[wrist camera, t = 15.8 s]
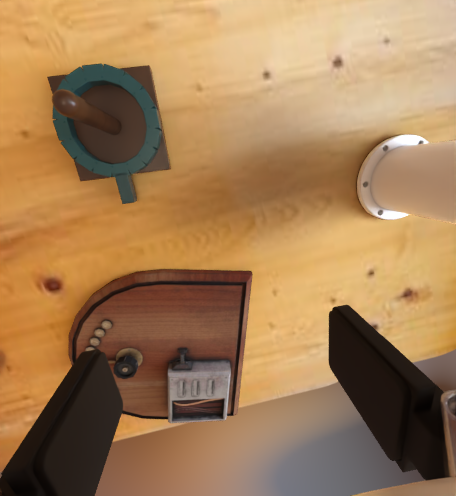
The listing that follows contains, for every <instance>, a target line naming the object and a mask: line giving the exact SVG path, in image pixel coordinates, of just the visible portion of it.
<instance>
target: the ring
mask: <svg viewBox="0 0 456 496" xmlns="http://www.w3.org/2000/svg"><path fill="white" fill-rule="evenodd" d="M82 67H83V69H82V68H81V67H79V68H77V69H76V70H74V71H73V72H71V73H70V74H68V75H67V76H65V79H66V80H67V81H66V80H64V79H62V81H61V83H60V85H59V87H58V89H57V90H61V89H64V90H68V91H70V92H72V93H74V94H75V95H77V96H79V97H81V95H82V94H83V93H84V92H86V91H87V90H89V89H90V88H92V87H93V86H100V85H112V86H115V87H118V88H121V89H124V90H126V91H127V92H128V93H129V94H131V95H132V96H133V97H134V98H135V99H136V100H137V102H138V104H139V105H140V107H141V109H142V110H143V113H144V117H145V122H146V126H147V129H146V136H145V142H144V144H143V146H142V147H141V149H140V151H139V152H138V154H137V155H136V156H134V157H133V158H131V159H130V160H128V161H126V162H124V163H116V164H111V163H108V162H104V161H100V160H99V159H98V158H96V157H95V156H93V155H92V154H90V153H89V152H88V151H87V150H86V149H85V147H84V146H83V145H82V143H81V142H80V140H79V139H78V136H77V133H76V130H75V126H74V123H73V121H74V119H71V118H68V117H66V116H64V115H62V114H60V113H59V112H58V111H57V110H56V109H55V107H54V105H53V119H56V120H53V123H54V126H55V129H56V132H57V135H58V138H59V140H60V141H62V142H61V144H62V145H63V146H64V148H65V149H66V150H67V152H68V153H69V154H70V156H71V157H72V158H73V159H75V161H76V162H77V163H79V164H80V165H82V166H83V167H85V168H86V169H88V170H89V171H91V172H93V173H96V174H100V175H104V176H108V177H115V178H116V182H117V185H118V189H119V193H120V196H121V200H122V204H126V203H133V202H136V201H137V198H136V194H135V190H134V186H133V182H132V178H131V175H133V174H136V173H137V172H139V171H141V170H142V169H144V168H145V167H147V166H148V165H147V164H150V163H151V161H152V160H153V158H154V157H155V155H156V154H157V152H158V150H157V149H159V146H160V140H161V135H162V131H161V130H162V128H161V123H160V118H159V112H158V110H157V107H156V106H155V104H154V102H153V101H152V99H151V97H150V96H149V94H148V92H147V91H146V89H145V88H144V87H143V86H142V85H141V84H140V83H139V82H138V81H137V80H135V79H134V78H133V77H132V76H131V75H129V74H128V73H127V72H126V73H125V71H124V70H121V69H118V68H115V67H112V66H109V65H106V64H104V66H103V65H102V64H93V65H84V66H82ZM155 148H157V149H155Z"/></svg>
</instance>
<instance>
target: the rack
mask: <svg viewBox="0 0 456 496" xmlns="http://www.w3.org/2000/svg"><path fill="white" fill-rule="evenodd" d="M121 70H124V71H125V73H126V72H127V73H128V74H129V75H131V76H132V77H133V78H134V79H135V80H137V81H138V82H139V83H140V84H141V85H142V86H143V87H144V88H145V89H146V91H147V92H148V94H149V96H150V97H151V99H152V101H153V102H154V104H155V106H156V107H157V110H158V112H159V118H160V123H161V128H162V130H161V131H162V135H161V140H160V146H159V149H157V148H155V149H157V150H158V152H157V154H156V155H155V157H154V158H153V160H152V161H151V163H150V164H147V165H148V166H147V167H145V168H144V169H142V170H141V171H139V172H137V173H136V174H138V173H145V172H153V171H160V170H167V169H171V167H170V162H169V157H168V152H167V147H166V141H165V136H164V131H163V126H162V121H161V116H160V111H159V106H158V101H157V96H156V91H155V86H154V81H153V76H152V71H151V68H150V66H149V65H148V66H139V67H130V68H122V69H121ZM65 76H67V75H59V76H50V77H47V78H48V81H49V84H50V87H51V90H52V93H53V96H52V102H53V105H54V107H55V109H56V110H57V111H58V112H59V113H60V114H62V115H64V116H66V117H68V118H71V119H74V121H73V123H74V126H75V130H76V133H77V136H78V139H79V140H80V142H81V143H82V145H83V146H84V147H85V149H86V150H87V151H88V152H89V153H90V154H92V155H93V156H95V157H96V158H98V159H99V160H100V161H104V162H108V163H111V164H116V163H124V162H126V161H128V160H130V159H131V158H133V157H134V156H136V155H137V154H138V152H139V151H140V149H141V147H142V146H143V144H144V142H145V136H146V129H147V126H146V122H145V117H144V113H143V110H142V109H141V107H140V105H139V104H138V102H137V100H136V99H135V98H134V97H133V96H132V95H131V94H129V93H128V92H127V91H126V90H124V89H121V88H118V87H115V86H112V85H100V86H93V87H92V88H90V89H89V90H87V91H86V92H84V93H83V94H82V95H81V97H79V96H77V95H75V94H74V93H72V92H70V91H68V90H64V89H61V90H57V89H58V87H59V85H60V83H61V81H62V79H64V80H66V79H65ZM66 81H67V80H66ZM74 162H75V165H76V168H77V171H78V174H79V177H80V181H87V180H94V179H102V178H109V177H108V176H104V175H100V174H96V173H93V172H91V171H89V170H88V169H86V168H85V167H83V166H82V165H80V164H79V163H77V162H76V161H75V159H74Z"/></svg>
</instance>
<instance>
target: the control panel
mask: <svg viewBox="0 0 456 496" xmlns="http://www.w3.org/2000/svg"><path fill="white" fill-rule="evenodd" d="M251 282H252V272H251V271H218V270H171V269H161V270H151V271H140V272H135V273H132V274H129V275H127V276H124V277H121V278H118V279H115V280H113V281H111V282H110V283H108V284H107V285H106V286H104V287H103V288H101V289H100V290H98V291H97V292H95V293H94V294H93V295H92V296H91V297H90V298H89V300H88V301H87V302H86V303H85V305H84V306H83V307H82V308H81V310H80V311H79V312H78V313H77V315H76V317H75V319H74V322H73V325H72V328H71V330H70V333H69V358H70V361H71V364H72V366H73V364H74V363H75V361H76V360H77V358H78V357H79V355H80V354H81V353H82V352H84V351H90V350H95V349H99V350H100V351H101V352H104V353H105V354H106V357H107V360H108V362H109V365H110V368H111V370H112V373H113V376H114V379H115V381H116V384H117V387H118V389H119V392H120V395H121V397H122V400H123V410H122V413H123V414H127V415H131V416H135V417H139V418H146V419H168V422H169V423H184V422H201V421H221V420H226V418H227V416H234V415H236V414H237V412H238V402H239V393H240V384H241V375H242V365H243V356H244V347H245V338H246V328H247V319H248V310H249V300H250V291H251Z"/></svg>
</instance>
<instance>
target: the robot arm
mask: <svg viewBox="0 0 456 496" xmlns="http://www.w3.org/2000/svg"><path fill="white" fill-rule="evenodd" d="M357 194H358V197H359V201H360V203H361V205H362V206H363V208H364V209H365V210H366V211H367V212H368V213H369V214H371V215H372V216H375V217H377V218H381V219H386V220H393V219H399V218H402V217H405V216H407V215H409V214H410V215H415V216H419V217H424V218H428V219H433V220H438V221H442V222H447V223H451V224H456V140H451V141H442V142H433V143H429V142H428V141H426V140H425V139H424V138H422V137H420V136H416V135H412V134H409V135H399V136H394V137H392V138H389V139H387V140H385V141H383V142H381V143H380V144H379V145H378V146H376V147H375V148H374V149H373V150H372V151H371V152H370V153H369V155H368V156H367V158H366V159H365V161H364V162H363V164H362V167H361V169H360V171H359V175H358V180H357ZM329 365H330V368H331V370H332V372H333V373H334V375H335V376H336V378H337V379H338V381H339V382H340V384H341V386H342V387H343V389H344V390H345V392H346V393H347V395H348V396H349V398H350V400H351V401H352V403H353V404H354V406H355V407H356V409H357V410H358V412H359V413H360V415H361V416H362V418H363V420H364V421H365V422H366V424H367V426H368V427H369V429H370V430H371V432H372V433H373V435H374V437H375V438H376V440H377V441H378V443H379V444H380V446H381V447H382V449H383V450H384V452H385V454H386V455H387V456H388V458H389V459H390V460H392V461H396V463H397V464H398V466H399V467H400V469H401V470H402V472H406V471H411V470H416V469H417V470H418V472H419V473H420V474H421V476H422V477H423V478H424V479H425V480H426V481H421V482H416V483H410V484H405V485H400V486H395V487H390V488H385V489H379V490H375V491H370V492H365V493H360V494H356V495H351V496H456V390H450V391H447V392H443V391H442V390H441V389H440V388H439V387H438V386H437V385H435V384H434V383H433V382H432V381H431V380H430V379H429V378H428V377H427V376H426V375H425V374H424V373H422V372H421V371H420V370H419V369H418V368H417V367H416V366H415V365H414V364H413V363H412V362H411V361H409V360H408V359H407V358H406V357H405V356H404V355H403V354H402V353H401V352H400V351H399V350H397V349H396V348H395V347H394V346H393V345H392V344H391V343H390V342H389V341H388V340H387V339H385V338H384V337H383V336H382V335H380V334H379V333H378V332H377V331H376V330H375V329H374V328H373V327H372V326H371V325H370V324H368V323H367V322H366V321H365V320H364V319H363V318H362V317H361V316H360V315H359V314H358V313H357V312H355V311H354V310H353V309H352V308H351V307H350V306H349V305H343V306H338V307H334V308H333V309H332V311H330V313H329ZM122 410H123V400H122V397H121V395H120V392H119V389H118V387H117V384H116V381H115V379H114V376H113V373H112V370H111V368H110V365H109V362H108V360H107V357H106V354H105V353H104V352H101V351H100V350H99V349H95V350H90V351H84V352H82V353H81V354H80V355H79V357H78V358H77V360H76V361H75V363H74V364H73V366H72V367H71V369H70V370H69V372H68V373H67V375H66V376H65V378H64V379H63V381H62V382H61V384H60V385H59V387H58V388H57V390H56V391H55V393H54V394H53V396H52V397H51V399H50V401H49V402H48V404H47V405H46V407H45V408H44V410H43V411H42V413H41V414H40V416H39V417H38V419H37V420H36V422H35V423H34V425H33V426H32V428H31V429H30V431H29V432H28V434H27V435H26V437H25V438H24V440H23V441H22V443H21V444H20V446H19V448H18V449H17V451H16V452H15V454H14V455H13V457H12V458H11V460H10V461H9V463H8V464H7V466H6V467H5V469H4V470H3V472H2V473H1V474H2V477H1V478H0V496H95V493H96V490H97V487H98V484H99V481H100V477H101V474H102V471H103V468H104V465H105V462H106V459H107V456H108V453H109V450H110V447H111V444H112V441H113V438H114V435H115V432H116V429H117V426H118V423H119V420H120V417H121V414H122Z"/></svg>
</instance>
